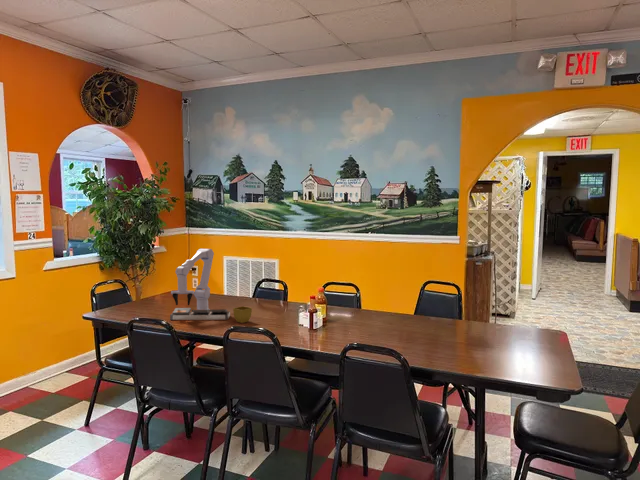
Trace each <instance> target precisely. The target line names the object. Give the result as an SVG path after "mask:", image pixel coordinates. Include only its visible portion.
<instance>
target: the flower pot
mask: <svg viewBox="0 0 640 480" xmlns="http://www.w3.org/2000/svg"><path fill="white" fill-rule="evenodd" d="M232 310H233V316H234V317H233V318H234V319H235V320H236V322H237V323H241V324H244V323H248V322H249V321H250V319H251V317H252V311H253V308H252V307H249V306H245V305H243V306H237V307H233V308H232Z"/></svg>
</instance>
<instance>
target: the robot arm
mask: <svg viewBox="0 0 640 480" xmlns="http://www.w3.org/2000/svg"><path fill="white" fill-rule="evenodd" d="M214 255H215V253H214V251H213V249H212V248H199V249H198V250H196V253H195V254H194V255H193V256H192V258H191V259H189V258H188V259H186V260H185V262H184V263H182V264H181V266H180V265H179V266H178V267H176V269H175V274H176V277H177V290H171V291H170V294H171V296H172V298H173V299H174V302H175V306H178V305H179V295H187V297H186V298H187V306H189V305H190V303H191V300H192V297H193V296H194V297H195V299H196V310H209V311H210V310H211V309H210V308H209V300H208V299H209V298H210V296H211V288H210V287H209V285H208V284H209V280H210V275H211V272H212V271H211V269H212V266H213V265H212V264H213V259H214ZM199 260H201V261H202V262H203V267H202V271H201V272H202V273H201V275H200V276H201V277H200V281H199V282H200V283H199V284H198V285H197V286H196V287H195V288H196V289H195V290H188V278H187V276H188V274H189V273H190V270H191V269H192V268H193V267H194V266H195V263H196V262H197V261H199Z"/></svg>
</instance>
